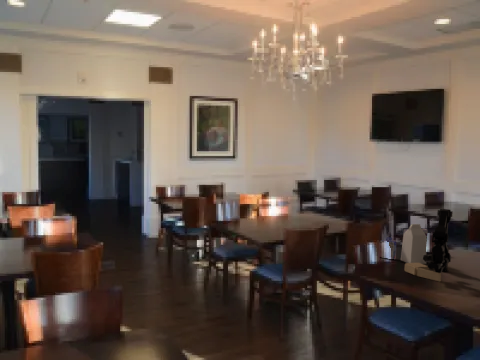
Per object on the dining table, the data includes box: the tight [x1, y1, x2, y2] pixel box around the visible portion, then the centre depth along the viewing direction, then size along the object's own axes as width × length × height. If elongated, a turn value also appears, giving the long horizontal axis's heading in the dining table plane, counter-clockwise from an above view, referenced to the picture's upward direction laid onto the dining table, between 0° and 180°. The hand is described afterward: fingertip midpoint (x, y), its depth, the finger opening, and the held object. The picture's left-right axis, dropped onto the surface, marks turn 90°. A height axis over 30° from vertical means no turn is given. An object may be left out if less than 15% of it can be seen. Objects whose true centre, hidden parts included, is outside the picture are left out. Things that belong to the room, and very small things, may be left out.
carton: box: [404, 262, 430, 276], centre depth 286 cm, size 10×10×5 cm
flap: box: [415, 268, 442, 282], centre depth 274 cm, size 15×1×5 cm, turn 42°
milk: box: [400, 223, 427, 265], centre depth 313 cm, size 12×12×26 cm
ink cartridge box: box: [380, 237, 397, 260], centre depth 321 cm, size 10×6×14 cm, turn 55°
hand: (437, 277), depth 273 cm, fingers closed
